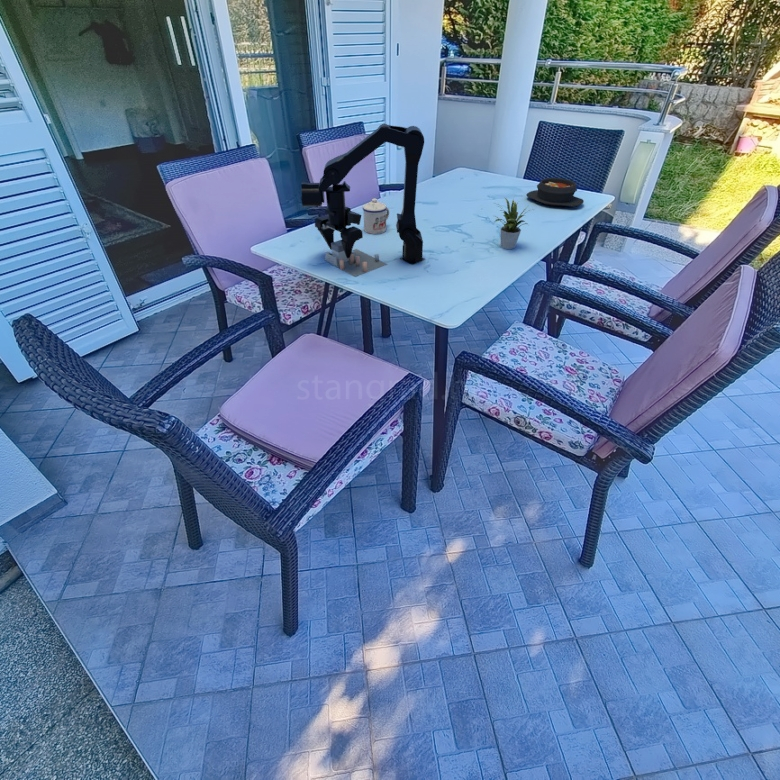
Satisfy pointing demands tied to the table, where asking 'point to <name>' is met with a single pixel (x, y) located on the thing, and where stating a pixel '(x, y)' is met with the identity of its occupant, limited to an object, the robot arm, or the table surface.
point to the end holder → (333, 258)
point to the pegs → (357, 262)
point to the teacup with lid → (375, 217)
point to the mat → (361, 264)
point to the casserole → (556, 192)
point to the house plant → (510, 226)
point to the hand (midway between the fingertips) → (340, 253)
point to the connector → (338, 251)
